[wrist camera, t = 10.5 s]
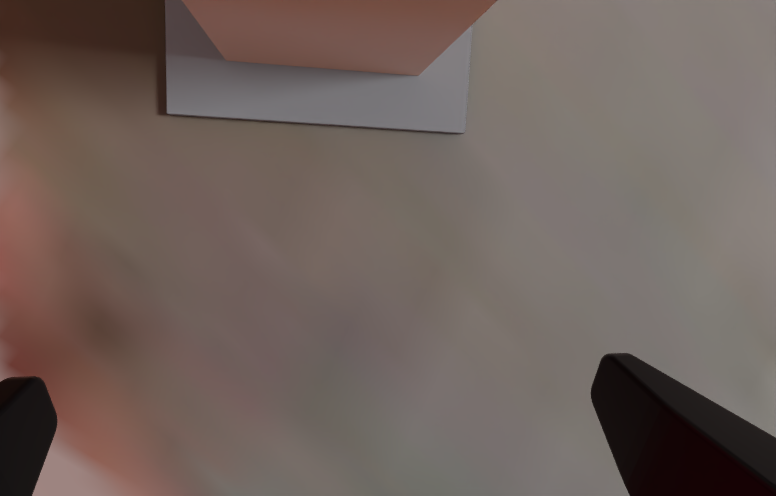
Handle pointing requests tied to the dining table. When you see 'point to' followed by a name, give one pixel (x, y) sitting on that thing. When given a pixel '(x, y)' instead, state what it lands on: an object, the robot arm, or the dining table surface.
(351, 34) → the salmon pink box
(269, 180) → the dining table surface
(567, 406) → the dining table surface
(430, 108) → the mat
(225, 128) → the dining table surface
